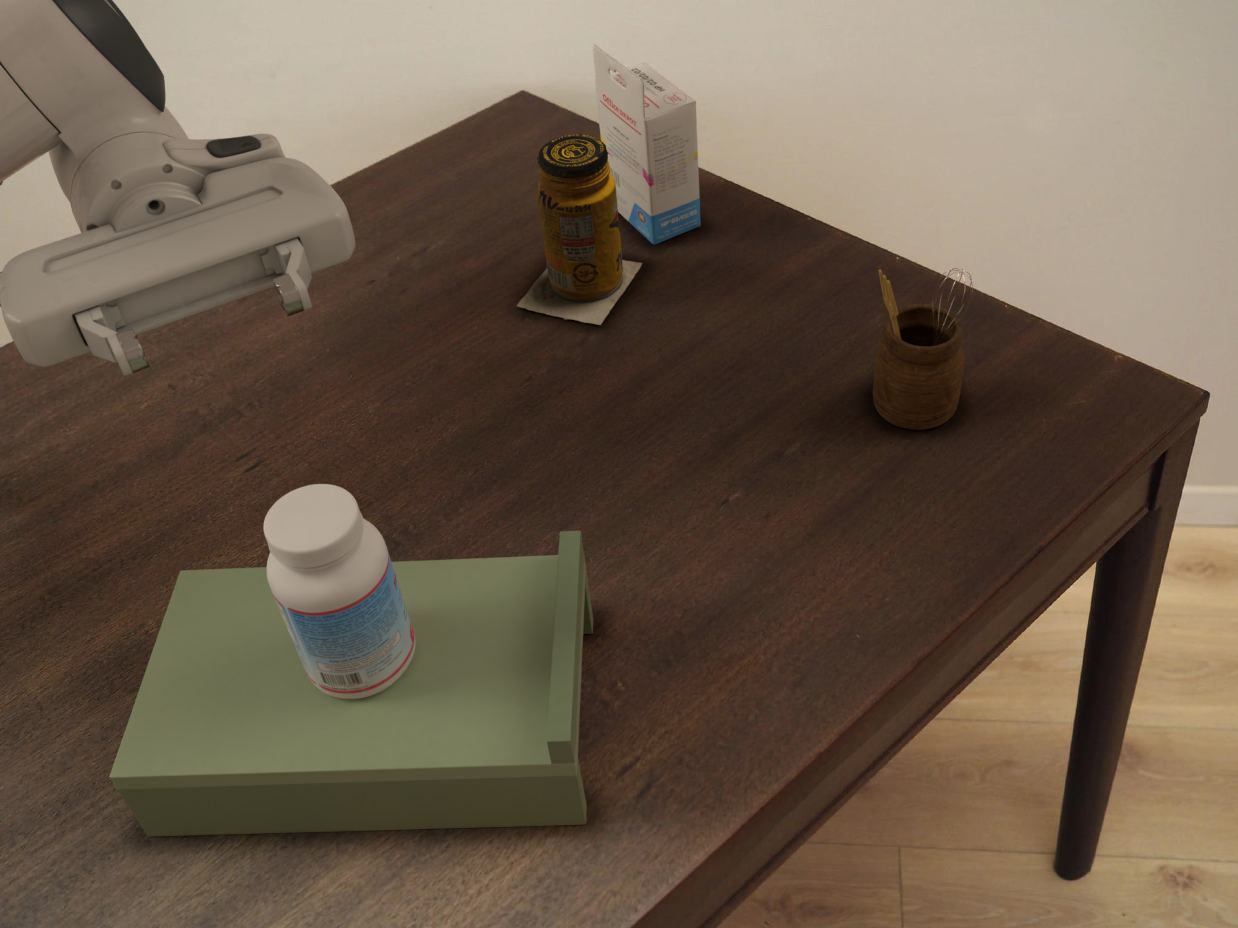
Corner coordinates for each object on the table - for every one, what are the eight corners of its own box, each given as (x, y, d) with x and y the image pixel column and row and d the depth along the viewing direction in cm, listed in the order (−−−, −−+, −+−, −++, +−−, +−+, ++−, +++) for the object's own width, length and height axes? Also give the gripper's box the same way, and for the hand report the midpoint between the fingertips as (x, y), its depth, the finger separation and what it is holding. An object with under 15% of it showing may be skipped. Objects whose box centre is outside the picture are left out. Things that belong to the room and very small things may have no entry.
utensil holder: (973, 420, 88) (996, 279, 79) (889, 443, 87) (903, 302, 78) (934, 369, 92) (952, 229, 83) (853, 390, 91) (863, 250, 82)
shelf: (147, 836, 69) (94, 755, 64) (210, 632, 79) (168, 547, 74) (586, 825, 68) (570, 740, 62) (593, 618, 78) (580, 530, 72)
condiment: (642, 265, 104) (632, 133, 95) (600, 327, 98) (585, 193, 90) (562, 250, 106) (545, 120, 98) (516, 309, 101) (495, 177, 92)
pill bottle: (439, 639, 70) (399, 497, 62) (367, 721, 66) (315, 581, 58) (356, 598, 72) (307, 456, 65) (282, 674, 69) (221, 535, 61)
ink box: (704, 227, 107) (698, 63, 97) (653, 247, 105) (641, 83, 95) (653, 183, 112) (642, 24, 102) (603, 201, 111) (587, 42, 101)
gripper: (-38, 229, 74) (2, 354, 65) (295, 124, 80) (374, 225, 71) (6, 315, 78) (49, 444, 69) (318, 209, 85) (395, 315, 76)
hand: (217, 332), depth 70 cm, fingers open, 8 cm apart
